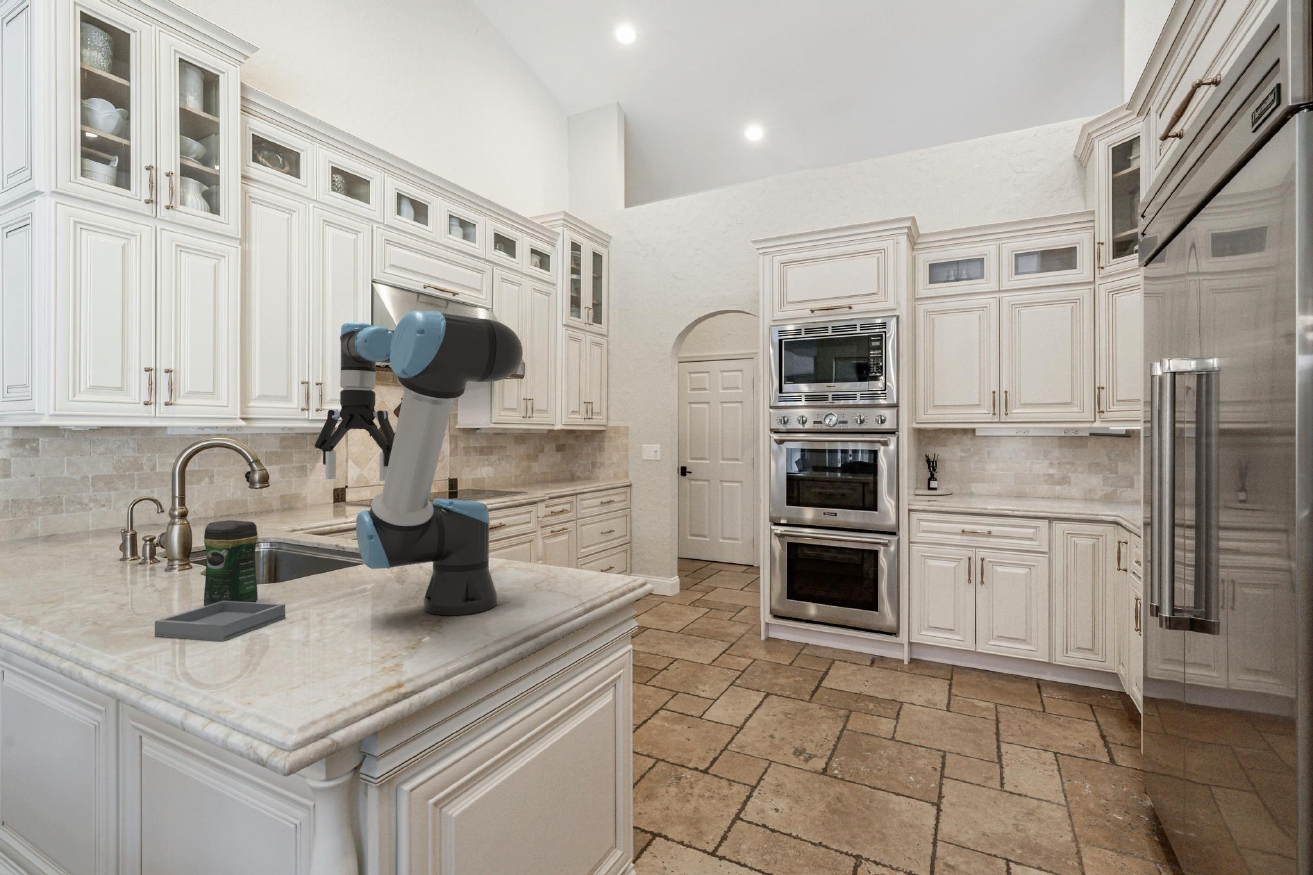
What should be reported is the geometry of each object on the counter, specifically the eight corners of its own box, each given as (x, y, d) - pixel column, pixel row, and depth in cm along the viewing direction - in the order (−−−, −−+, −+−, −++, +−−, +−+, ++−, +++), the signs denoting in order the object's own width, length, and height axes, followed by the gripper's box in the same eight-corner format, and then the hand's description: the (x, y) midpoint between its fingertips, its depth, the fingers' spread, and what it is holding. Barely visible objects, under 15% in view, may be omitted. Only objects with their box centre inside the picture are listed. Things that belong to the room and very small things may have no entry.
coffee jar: (265, 602, 137) (265, 518, 137) (233, 612, 130) (233, 523, 130) (229, 599, 140) (229, 517, 140) (195, 609, 132) (196, 522, 132)
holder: (285, 617, 126) (285, 604, 126) (223, 641, 111) (223, 625, 111) (223, 614, 128) (223, 600, 128) (154, 636, 114) (154, 621, 114)
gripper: (416, 391, 149) (415, 479, 149) (319, 390, 152) (319, 476, 152) (399, 389, 141) (398, 482, 141) (298, 388, 144) (297, 479, 145)
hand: (357, 479), depth 147 cm, fingers open, 13 cm apart
